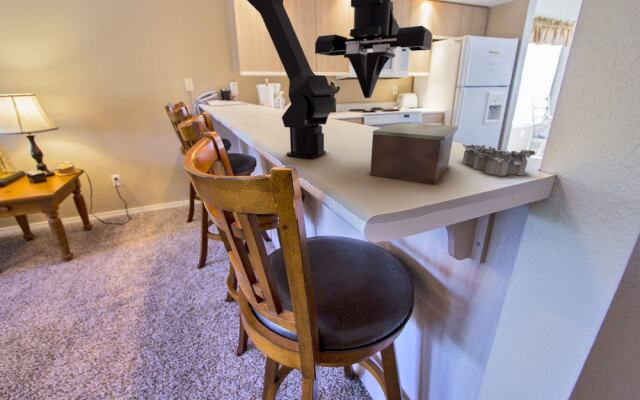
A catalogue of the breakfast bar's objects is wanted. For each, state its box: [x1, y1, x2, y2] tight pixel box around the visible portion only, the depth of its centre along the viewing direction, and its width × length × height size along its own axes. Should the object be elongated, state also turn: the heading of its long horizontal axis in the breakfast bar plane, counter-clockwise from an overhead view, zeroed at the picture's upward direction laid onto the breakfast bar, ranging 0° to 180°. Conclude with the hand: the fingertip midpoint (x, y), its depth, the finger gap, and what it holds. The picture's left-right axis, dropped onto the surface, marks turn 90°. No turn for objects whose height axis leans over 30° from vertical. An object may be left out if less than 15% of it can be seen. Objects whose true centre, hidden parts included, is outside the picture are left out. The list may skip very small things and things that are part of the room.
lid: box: [372, 122, 459, 141], centre depth 49 cm, size 11×12×1 cm
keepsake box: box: [369, 132, 455, 185], centre depth 51 cm, size 10×12×7 cm
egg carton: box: [461, 143, 536, 177], centre depth 52 cm, size 11×8×4 cm
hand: (367, 98), depth 52 cm, fingers closed
